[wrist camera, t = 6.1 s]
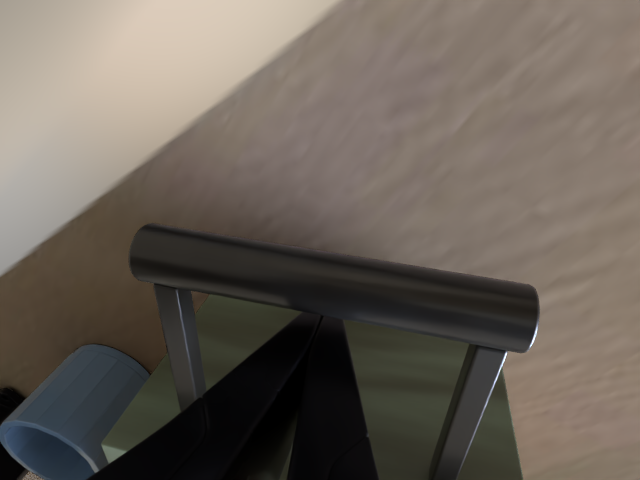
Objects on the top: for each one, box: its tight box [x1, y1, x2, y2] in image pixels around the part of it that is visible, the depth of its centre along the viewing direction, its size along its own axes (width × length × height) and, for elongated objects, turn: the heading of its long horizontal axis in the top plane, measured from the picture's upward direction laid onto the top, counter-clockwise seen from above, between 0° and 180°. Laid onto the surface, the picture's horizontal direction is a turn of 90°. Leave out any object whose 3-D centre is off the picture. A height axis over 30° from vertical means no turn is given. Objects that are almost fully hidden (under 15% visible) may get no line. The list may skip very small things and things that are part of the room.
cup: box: [0, 344, 150, 480], centre depth 22 cm, size 6×6×5 cm
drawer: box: [101, 223, 540, 480], centre depth 15 cm, size 18×11×7 cm, turn 178°
